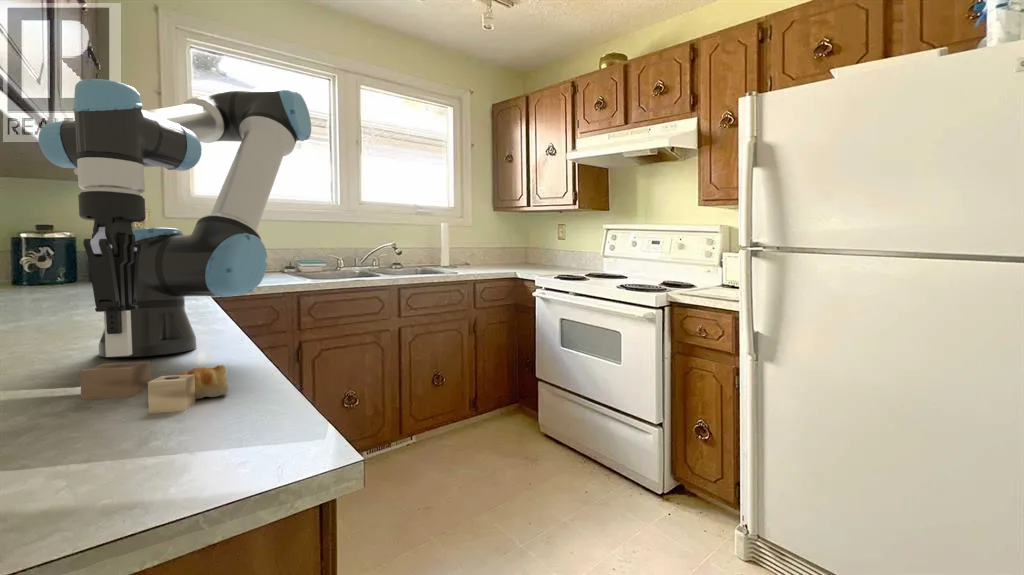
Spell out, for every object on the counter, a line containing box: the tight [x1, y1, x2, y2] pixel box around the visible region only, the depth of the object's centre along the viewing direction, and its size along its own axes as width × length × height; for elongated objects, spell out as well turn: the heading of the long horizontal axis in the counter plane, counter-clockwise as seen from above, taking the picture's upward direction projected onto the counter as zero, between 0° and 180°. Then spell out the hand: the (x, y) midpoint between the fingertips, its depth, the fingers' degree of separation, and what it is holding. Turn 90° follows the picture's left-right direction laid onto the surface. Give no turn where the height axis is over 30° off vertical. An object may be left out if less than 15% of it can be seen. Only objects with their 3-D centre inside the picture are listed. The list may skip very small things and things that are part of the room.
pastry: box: [176, 364, 229, 400], centre depth 71 cm, size 9×7×4 cm
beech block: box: [147, 374, 196, 414], centre depth 65 cm, size 4×4×4 cm
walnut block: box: [79, 361, 152, 400], centre depth 73 cm, size 6×6×4 cm
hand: (119, 355), depth 73 cm, fingers closed
